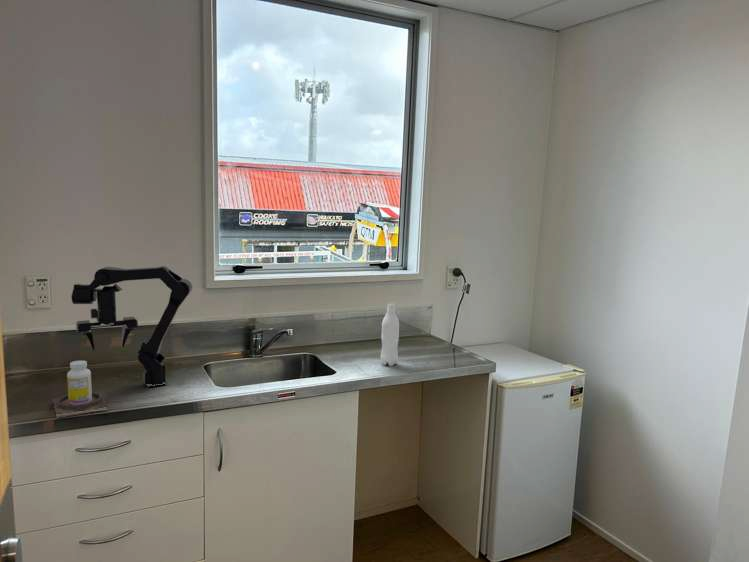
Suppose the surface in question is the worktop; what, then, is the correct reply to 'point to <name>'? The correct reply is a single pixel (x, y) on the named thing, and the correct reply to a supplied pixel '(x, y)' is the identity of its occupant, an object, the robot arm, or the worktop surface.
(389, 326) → the water bottle
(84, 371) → the supplement bottle
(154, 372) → the robot arm
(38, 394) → the worktop surface
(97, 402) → the locating board
